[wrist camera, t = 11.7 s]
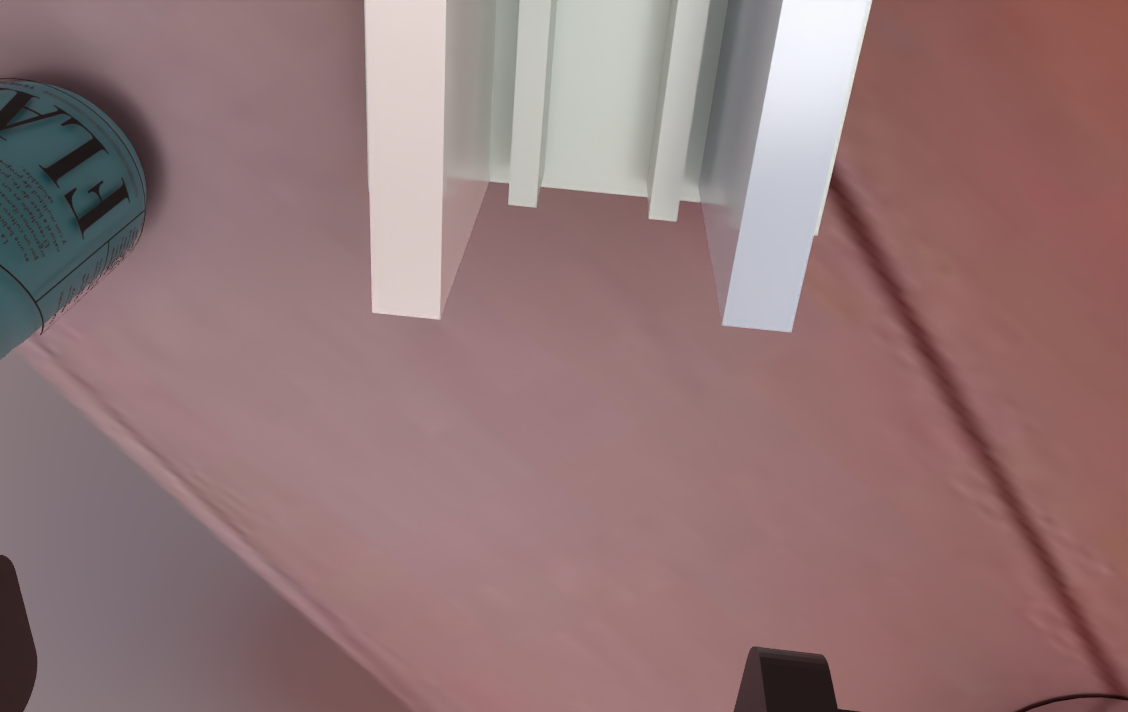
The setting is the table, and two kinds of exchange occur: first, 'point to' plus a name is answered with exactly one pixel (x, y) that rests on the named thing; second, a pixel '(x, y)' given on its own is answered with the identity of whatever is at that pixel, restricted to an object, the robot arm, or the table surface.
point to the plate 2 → (772, 149)
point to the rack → (608, 97)
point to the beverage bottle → (59, 202)
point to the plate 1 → (426, 144)
